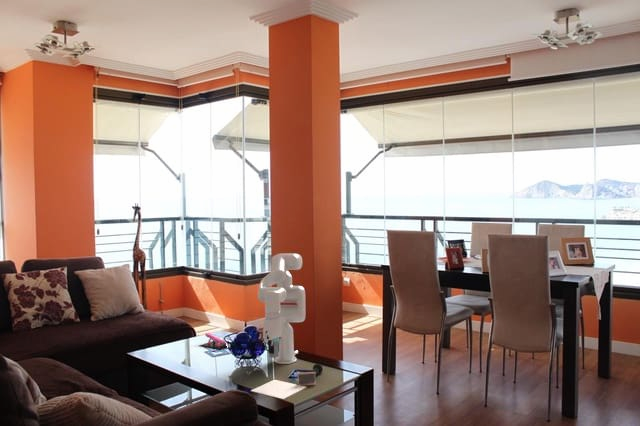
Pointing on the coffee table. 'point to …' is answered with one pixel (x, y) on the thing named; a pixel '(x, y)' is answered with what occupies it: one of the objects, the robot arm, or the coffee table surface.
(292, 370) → the coffee table surface
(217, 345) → the pink toy cannon
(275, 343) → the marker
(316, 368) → the microphone
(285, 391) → the paper
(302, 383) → the word card
